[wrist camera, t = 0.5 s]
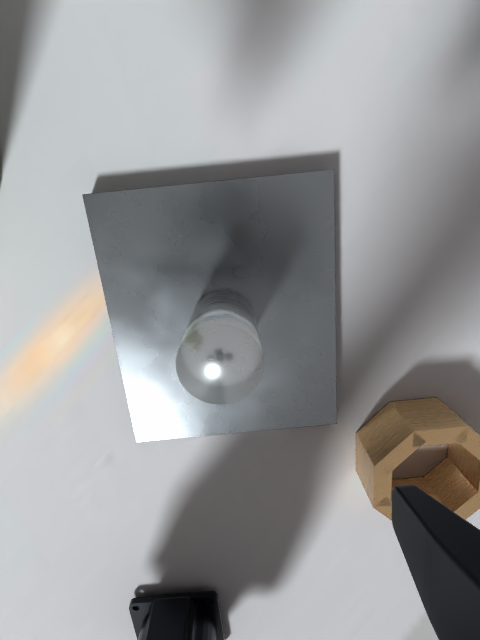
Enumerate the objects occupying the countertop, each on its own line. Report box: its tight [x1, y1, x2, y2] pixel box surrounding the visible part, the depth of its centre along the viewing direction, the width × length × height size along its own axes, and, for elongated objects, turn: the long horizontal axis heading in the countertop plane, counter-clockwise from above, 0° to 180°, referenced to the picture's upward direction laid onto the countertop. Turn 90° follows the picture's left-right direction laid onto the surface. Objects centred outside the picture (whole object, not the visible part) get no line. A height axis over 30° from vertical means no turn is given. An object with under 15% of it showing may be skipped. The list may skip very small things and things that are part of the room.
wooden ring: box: [356, 397, 480, 520], centre depth 21 cm, size 7×7×3 cm
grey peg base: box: [82, 169, 337, 442], centre depth 16 cm, size 14×12×6 cm
